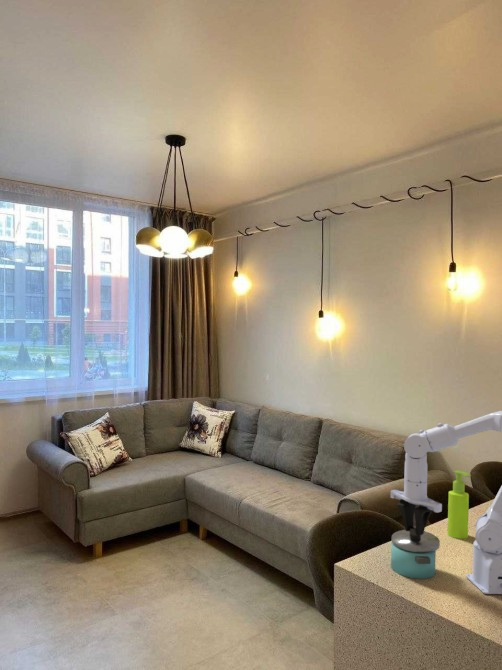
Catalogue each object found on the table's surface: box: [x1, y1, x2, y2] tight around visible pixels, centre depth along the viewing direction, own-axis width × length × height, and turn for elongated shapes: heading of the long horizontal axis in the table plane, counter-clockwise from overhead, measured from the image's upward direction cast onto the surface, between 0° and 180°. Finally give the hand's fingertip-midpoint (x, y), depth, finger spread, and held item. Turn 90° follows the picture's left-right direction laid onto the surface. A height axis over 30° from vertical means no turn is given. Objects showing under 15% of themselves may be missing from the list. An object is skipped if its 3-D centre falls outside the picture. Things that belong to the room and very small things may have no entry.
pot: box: [390, 542, 437, 580], centre depth 131 cm, size 14×11×6 cm
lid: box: [391, 525, 441, 553], centre depth 132 cm, size 12×12×4 cm
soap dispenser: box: [447, 469, 472, 540], centre depth 156 cm, size 6×7×20 cm
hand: (414, 532), depth 131 cm, fingers closed on lid, 3 cm apart
